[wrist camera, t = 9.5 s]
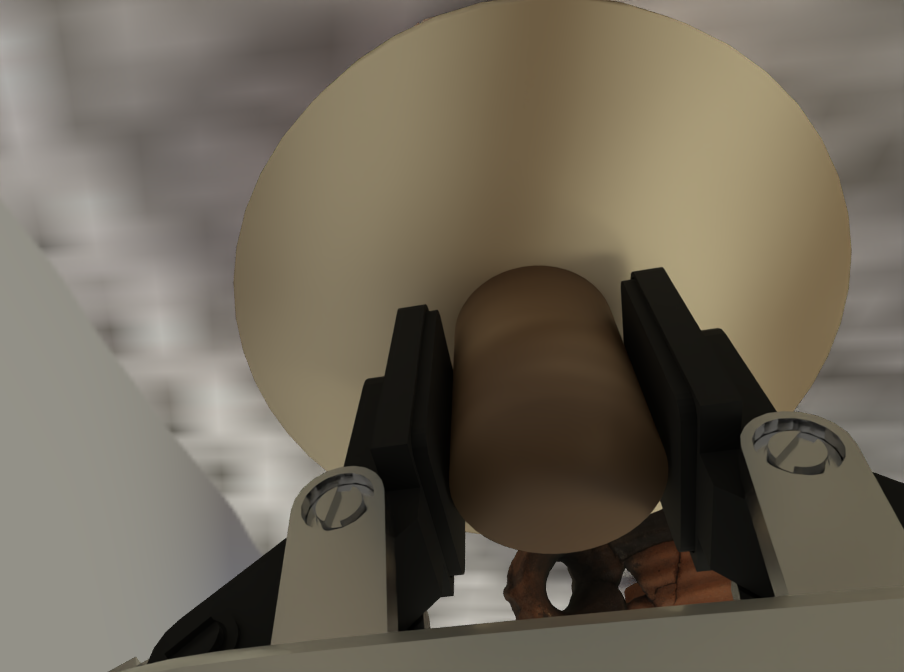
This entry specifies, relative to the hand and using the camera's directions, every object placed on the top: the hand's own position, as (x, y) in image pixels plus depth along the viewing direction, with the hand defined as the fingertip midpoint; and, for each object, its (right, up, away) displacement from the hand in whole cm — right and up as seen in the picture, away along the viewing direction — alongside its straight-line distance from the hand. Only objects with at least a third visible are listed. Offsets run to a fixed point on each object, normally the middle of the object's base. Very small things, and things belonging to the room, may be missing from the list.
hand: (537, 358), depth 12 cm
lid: (0, +1, +2) cm, 2 cm away
